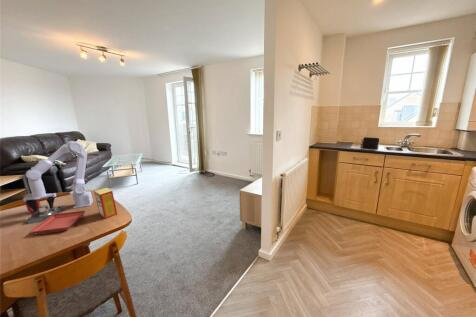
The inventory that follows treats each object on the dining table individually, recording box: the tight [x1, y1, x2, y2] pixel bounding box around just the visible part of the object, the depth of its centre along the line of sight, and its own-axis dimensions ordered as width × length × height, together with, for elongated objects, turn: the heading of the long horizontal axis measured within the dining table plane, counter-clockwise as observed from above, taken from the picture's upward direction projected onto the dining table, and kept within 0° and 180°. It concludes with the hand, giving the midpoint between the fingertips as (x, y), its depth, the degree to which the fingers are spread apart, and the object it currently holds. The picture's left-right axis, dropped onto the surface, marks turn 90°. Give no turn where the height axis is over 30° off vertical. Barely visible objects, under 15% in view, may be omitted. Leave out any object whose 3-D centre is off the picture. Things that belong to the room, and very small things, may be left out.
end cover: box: [38, 204, 53, 217], centre depth 120 cm, size 7×7×7 cm
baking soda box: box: [94, 187, 118, 220], centre depth 119 cm, size 10×6×16 cm
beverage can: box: [23, 193, 42, 214], centre depth 125 cm, size 6×6×12 cm
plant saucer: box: [29, 210, 86, 235], centre depth 111 cm, size 18×18×3 cm
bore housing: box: [26, 205, 64, 225], centre depth 120 cm, size 12×12×3 cm
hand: (44, 209), depth 119 cm, fingers open, 7 cm apart
